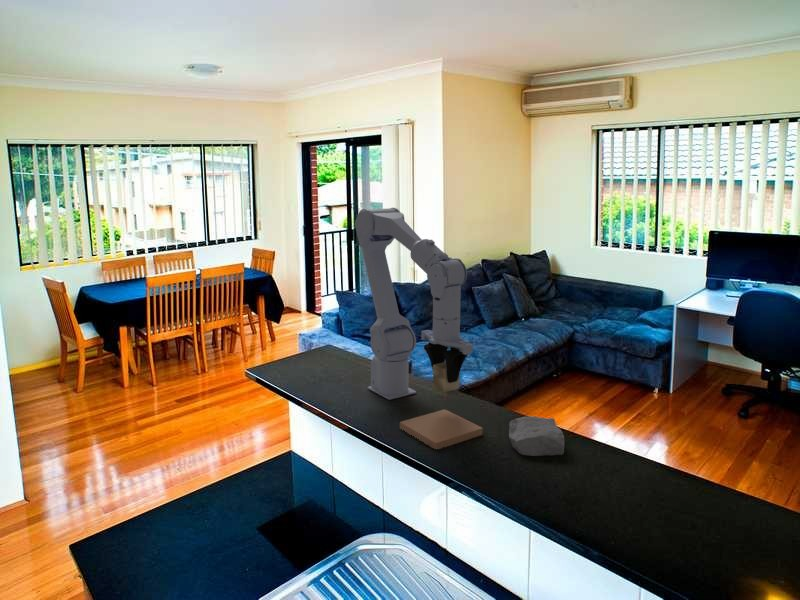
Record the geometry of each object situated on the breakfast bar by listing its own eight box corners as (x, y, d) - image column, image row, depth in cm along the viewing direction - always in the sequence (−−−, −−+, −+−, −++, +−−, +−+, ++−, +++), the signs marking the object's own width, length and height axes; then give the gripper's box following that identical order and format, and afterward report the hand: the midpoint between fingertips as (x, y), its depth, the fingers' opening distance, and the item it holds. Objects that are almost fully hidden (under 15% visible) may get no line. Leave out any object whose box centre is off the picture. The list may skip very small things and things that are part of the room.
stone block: (516, 465, 113) (569, 456, 112) (512, 442, 112) (565, 432, 111) (506, 440, 124) (554, 431, 124) (502, 418, 124) (550, 409, 123)
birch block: (433, 386, 130) (433, 364, 129) (447, 383, 132) (447, 361, 131) (445, 392, 127) (445, 369, 126) (459, 388, 129) (459, 366, 128)
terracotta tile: (399, 431, 124) (399, 422, 124) (444, 417, 131) (444, 409, 131) (436, 452, 115) (436, 442, 114) (482, 437, 121) (482, 428, 121)
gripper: (410, 313, 130) (410, 373, 132) (454, 326, 118) (453, 392, 121) (435, 309, 134) (435, 367, 136) (481, 321, 122) (479, 385, 125)
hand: (445, 378), depth 129 cm, fingers closed on birch block, 4 cm apart
